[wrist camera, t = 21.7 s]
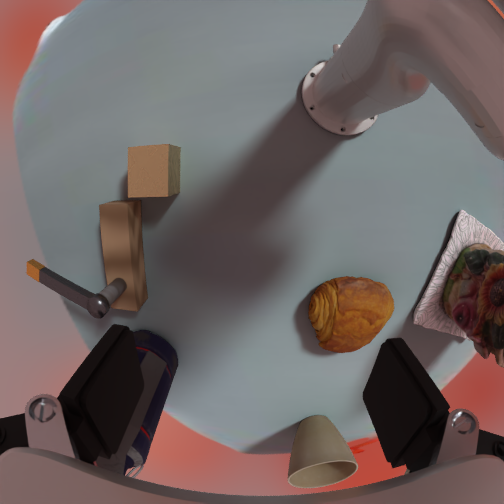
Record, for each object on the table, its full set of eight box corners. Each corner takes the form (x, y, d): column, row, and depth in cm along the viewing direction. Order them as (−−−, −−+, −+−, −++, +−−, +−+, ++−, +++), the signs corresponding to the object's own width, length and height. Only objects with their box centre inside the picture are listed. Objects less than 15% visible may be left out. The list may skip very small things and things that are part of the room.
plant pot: (288, 406, 53) (294, 464, 37) (350, 403, 53) (368, 455, 37) (279, 440, 57) (282, 490, 42) (334, 437, 57) (345, 484, 42)
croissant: (319, 258, 45) (324, 273, 37) (397, 281, 44) (414, 298, 36) (294, 331, 49) (294, 355, 41) (368, 348, 48) (377, 372, 40)
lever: (32, 273, 32) (26, 276, 30) (32, 256, 31) (26, 259, 29) (108, 316, 33) (103, 321, 32) (111, 298, 32) (105, 304, 31)
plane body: (114, 200, 40) (75, 211, 29) (140, 200, 40) (106, 211, 29) (123, 295, 45) (94, 326, 34) (147, 298, 45) (122, 331, 34)
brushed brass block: (144, 149, 38) (128, 147, 32) (180, 147, 38) (168, 143, 32) (144, 193, 40) (128, 197, 34) (180, 192, 40) (168, 196, 34)
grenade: (161, 382, 51) (118, 500, 22) (116, 349, 49) (48, 458, 20) (197, 347, 48) (157, 492, 19) (145, 309, 46) (61, 437, 17)
